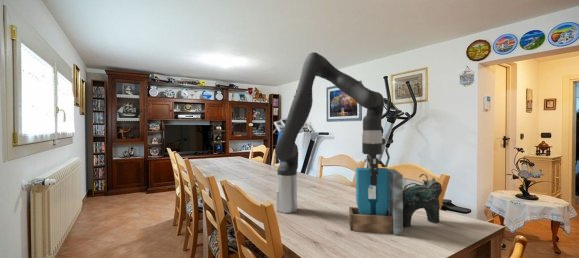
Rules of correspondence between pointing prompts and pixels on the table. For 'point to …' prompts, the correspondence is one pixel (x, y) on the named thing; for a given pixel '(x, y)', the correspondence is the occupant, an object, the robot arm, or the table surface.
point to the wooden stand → (394, 212)
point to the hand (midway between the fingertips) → (372, 183)
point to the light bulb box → (372, 192)
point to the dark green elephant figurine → (421, 200)
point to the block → (382, 192)
